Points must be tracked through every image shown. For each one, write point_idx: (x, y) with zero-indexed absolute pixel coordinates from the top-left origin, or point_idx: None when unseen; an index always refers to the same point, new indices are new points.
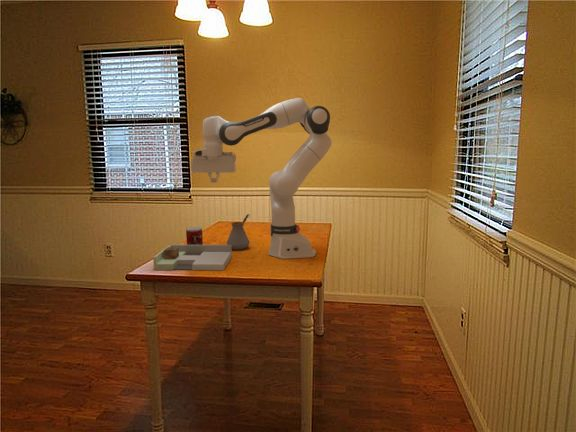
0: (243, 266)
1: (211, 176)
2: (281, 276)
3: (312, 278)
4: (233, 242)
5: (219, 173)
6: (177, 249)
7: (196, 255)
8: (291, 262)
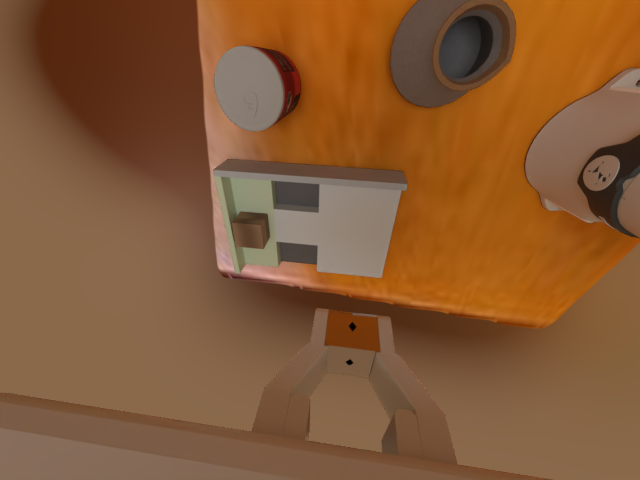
0: (425, 252)
1: (310, 372)
2: (488, 307)
3: (542, 320)
4: (419, 101)
5: (445, 447)
6: (262, 231)
7: (309, 212)
8: (556, 235)
